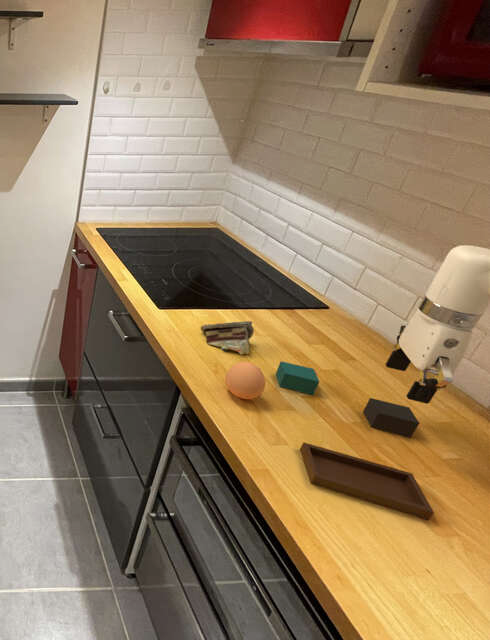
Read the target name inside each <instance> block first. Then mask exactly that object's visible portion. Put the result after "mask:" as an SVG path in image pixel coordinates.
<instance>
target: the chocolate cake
mask: <svg viewBox="0 0 490 640" xmlns="http://www.w3.org/2000/svg"><path fill="white" fill-rule="evenodd" d="M254 330H255V329H254V327H253V321H252V320H247V321H235V322H224V323H215V324H211V323H208V324H202V325H201V326H200V331H201V332H202V333H204V334H205V338H206V343H207V344H208V345H211V346H215V347H219V348H221V350H222V351H223V352H227V351H228V350H230V351H235V352H237V353H238V354H239V355H241V356H243V355H244V354H245V355H249V353H250V339H251V338H252V337H253V336H254V334H255V333H254Z"/></svg>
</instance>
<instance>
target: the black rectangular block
mask: <svg viewBox="0 0 490 640" xmlns="http://www.w3.org/2000/svg"><path fill="white" fill-rule="evenodd" d="M362 413H363V415H364V417H365V419H366V422H367V423H368V424H369V427H370V428H371V429H376V430H380V431H383V432H387V433H391V434H394V435H399V436H402V437H406V438H410V439H411V438H412V437H413V435H414V433H415V432H416V430H417V428H418V427H419V425H420V422H419V420H418V419H417V417H416V415H415V414H414V412H413V411H412V410H411V408H410V407H409V406H405V405H401V404H397V403H393V402H389V401H385V400H381V399H377V398H372V397H369V399H368V401H367V402H366V405H365V407H364V409H363V411H362Z"/></svg>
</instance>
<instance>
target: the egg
mask: <svg viewBox="0 0 490 640" xmlns="http://www.w3.org/2000/svg"><path fill="white" fill-rule="evenodd" d="M224 377H225V378H224V381H225V385H226V387H227V389H228V391H229V392H230V393H232V395H233V396H234V397H235V396H236V397H237V398H240V399H243V400H253V399H256V398H258V397H260V396H261V395H262V394H263V392H264V390H265V388H266V378H265V375H264V373H263V371H262V369H261V368H260V367H259V366H258V365H256V363H253V362H250V361H245V360H243V361H238V362H236V363H234V364H232V365H231V366H230V367H229V368H228V369H227V370H226V373H225V376H224Z"/></svg>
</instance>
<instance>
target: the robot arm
mask: <svg viewBox="0 0 490 640" xmlns="http://www.w3.org/2000/svg"><path fill="white" fill-rule="evenodd" d="M489 306H490V248H487V247H482V246H476V245H467V244H466V245H465V244H463V245H458V246H454V247H453V248H452V249H450V250H449V252H448V254H447V255H446V257H445V258H444V261H443V262H442V264H441V266H440V267H439V269H438V270H437V273H436V275H435V276H434V278H433V280H432V282H431V283H430V285H429V287H428V289H427V291H426V292H425V294H424V296H423V298H422V300H421V301H420V303H419V305H418V307H417V308H416V311H415V312H414V313H413V315H412V316H411V318H410V319H409V321H408V322H407V324H406V325H401V326H400V329H399V333H398V335H397V336H396V343H395V344H394V345H393V350H392V352H391V354H390V355H389V357H388V359H387V360H386V362H385V367H386V368H389V369H392V370H395V371H401V372H406V371H407V369H409V366H410V364H411V363H412V365H414V367H415V368H416V369H417V370H418V381H417V380H415V381H413V384H412V385H411V387H410V388H409V390H408V392H407V394H406V395H405V396H406V398H407V399H408V400H410V401H413V402H414V401H415V402H418V403H422V404H429V403H430V402H431V401H432V399H433V398H434V396H435V394H436V393H437V391H438V390H441V389H445V388H447V386H449V385H450V384H452V383H453V382H454V376H453V375H455V373H456V371H457V369H458V367H459V366H460V364H461V362H462V360H463V358H464V356H465V354H466V352H467V351H468V348H469V345H470V343H471V340H472V335H473V331H472V330H474V329H475V328H476V326H477V325H478V323H479V321H480V320H481V318H482V317H483V316H484V313H485V312H486V310H487V309H488V307H489ZM431 368H434V369H431ZM428 374H431V375H433V376H434V377H433V378H428Z"/></svg>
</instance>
